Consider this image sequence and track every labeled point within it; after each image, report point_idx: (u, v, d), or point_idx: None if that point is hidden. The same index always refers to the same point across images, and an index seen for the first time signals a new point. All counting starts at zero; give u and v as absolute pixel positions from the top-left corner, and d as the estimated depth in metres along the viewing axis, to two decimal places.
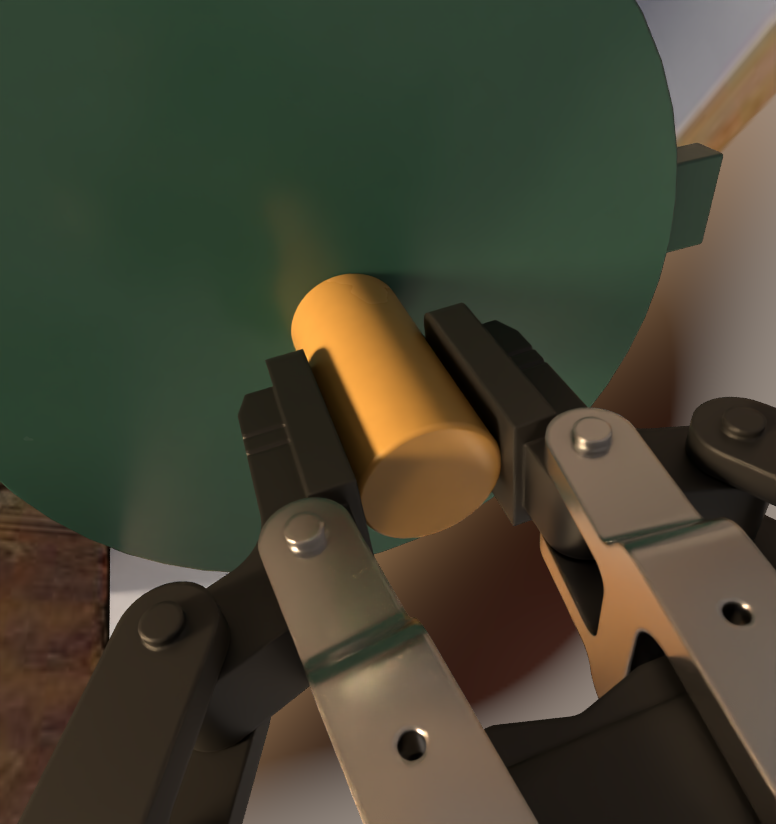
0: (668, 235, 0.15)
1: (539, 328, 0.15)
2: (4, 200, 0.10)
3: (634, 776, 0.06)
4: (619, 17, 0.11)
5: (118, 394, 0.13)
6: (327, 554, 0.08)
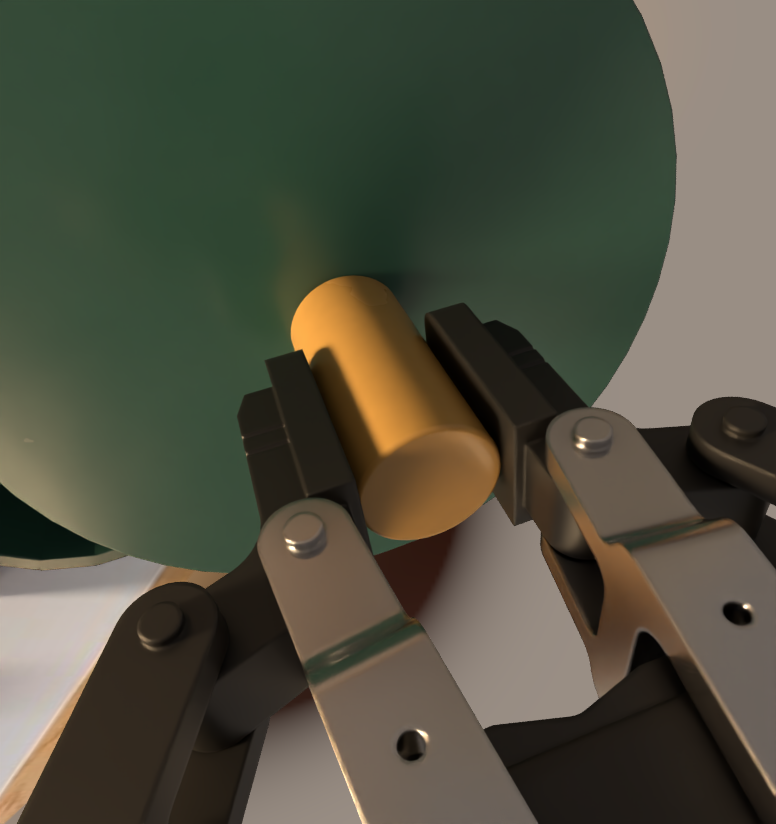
0: (667, 237, 0.15)
1: (538, 330, 0.15)
2: (4, 203, 0.10)
3: (634, 776, 0.06)
4: (618, 20, 0.11)
5: (118, 396, 0.13)
6: (326, 555, 0.08)
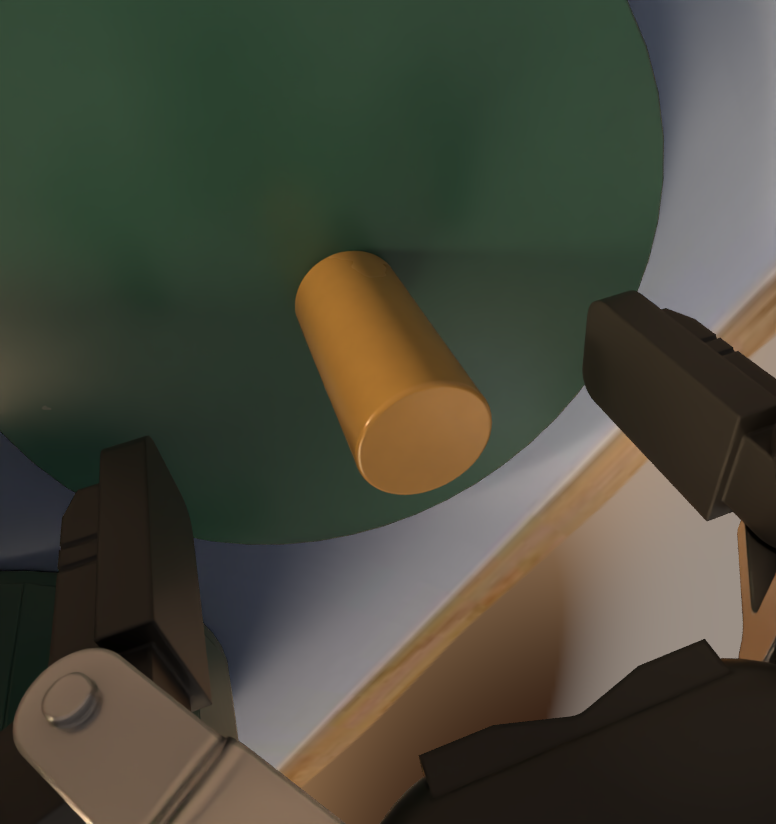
0: (656, 216, 0.15)
1: (533, 306, 0.16)
2: (26, 177, 0.11)
3: (634, 776, 0.06)
4: (605, 4, 0.12)
5: (131, 366, 0.13)
6: (87, 731, 0.06)
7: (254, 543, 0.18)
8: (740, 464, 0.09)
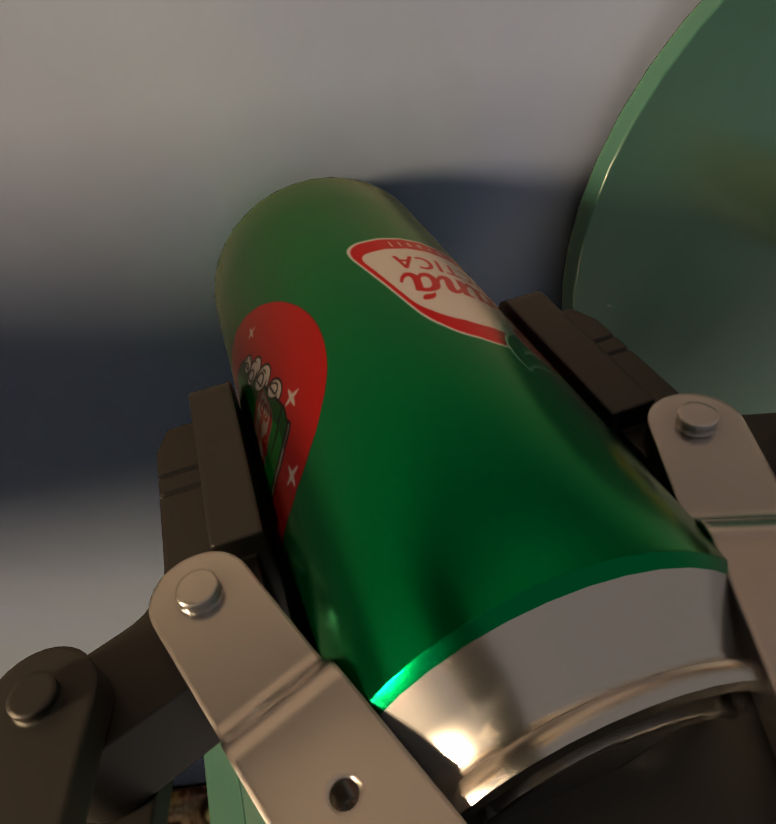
0: None
1: None
2: (699, 113, 0.14)
3: (634, 776, 0.06)
4: None
5: (675, 272, 0.17)
6: (218, 616, 0.07)
7: None
8: None
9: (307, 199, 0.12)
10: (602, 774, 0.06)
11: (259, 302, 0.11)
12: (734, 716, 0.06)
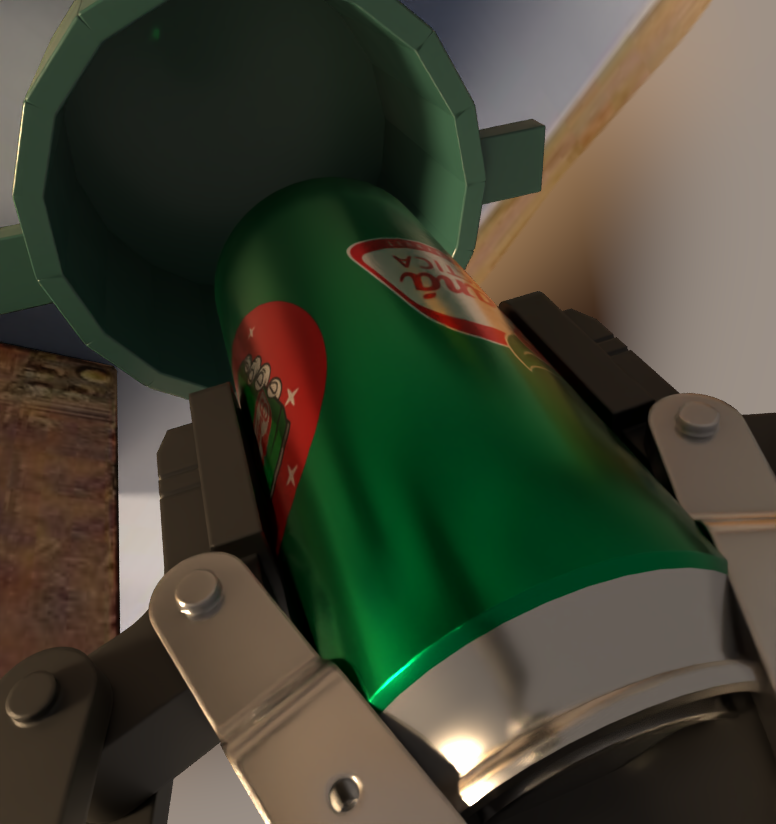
0: None
1: None
2: None
3: (634, 776, 0.06)
4: None
5: None
6: (218, 617, 0.07)
7: None
8: None
9: (307, 199, 0.12)
10: (601, 774, 0.05)
11: (259, 302, 0.11)
12: (733, 716, 0.06)
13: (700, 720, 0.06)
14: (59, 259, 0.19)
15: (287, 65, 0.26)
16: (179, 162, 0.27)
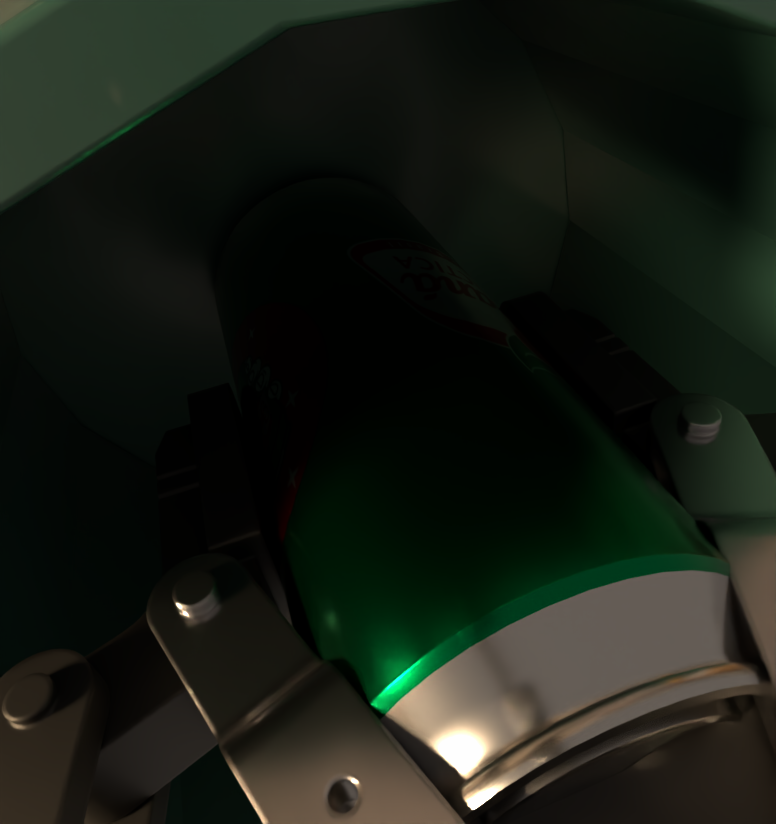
0: None
1: None
2: None
3: (634, 776, 0.06)
4: None
5: None
6: (216, 618, 0.07)
7: None
8: None
9: (307, 199, 0.12)
10: (604, 778, 0.05)
11: (259, 303, 0.11)
12: (736, 719, 0.06)
13: (703, 723, 0.05)
14: None
15: (417, 139, 0.14)
16: (211, 313, 0.15)
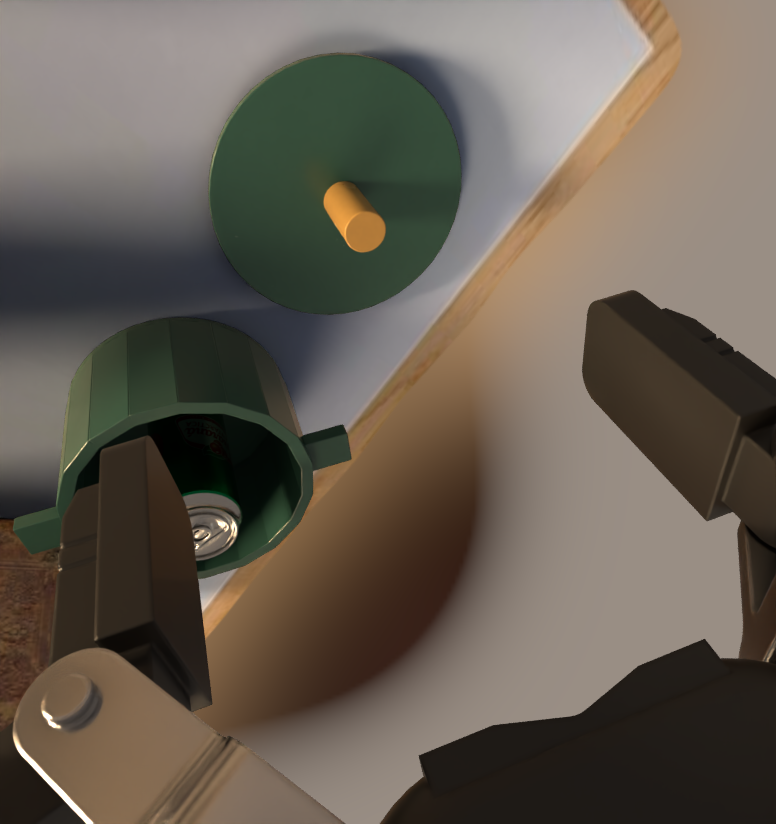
0: (460, 171, 0.40)
1: (414, 207, 0.41)
2: (245, 154, 0.36)
3: (634, 776, 0.06)
4: (426, 98, 0.37)
5: (266, 221, 0.38)
6: (87, 731, 0.06)
7: (303, 311, 0.43)
8: (740, 464, 0.09)
9: None
10: None
11: (153, 432, 0.41)
12: (213, 516, 0.36)
13: (206, 515, 0.36)
14: None
15: None
16: None
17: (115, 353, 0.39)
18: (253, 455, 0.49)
